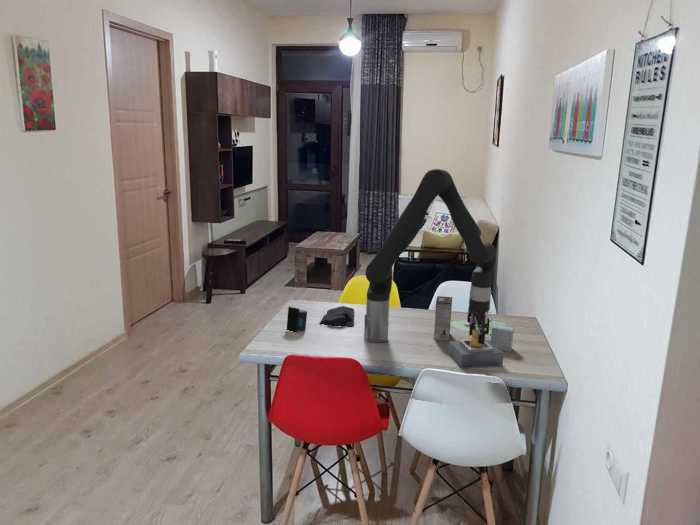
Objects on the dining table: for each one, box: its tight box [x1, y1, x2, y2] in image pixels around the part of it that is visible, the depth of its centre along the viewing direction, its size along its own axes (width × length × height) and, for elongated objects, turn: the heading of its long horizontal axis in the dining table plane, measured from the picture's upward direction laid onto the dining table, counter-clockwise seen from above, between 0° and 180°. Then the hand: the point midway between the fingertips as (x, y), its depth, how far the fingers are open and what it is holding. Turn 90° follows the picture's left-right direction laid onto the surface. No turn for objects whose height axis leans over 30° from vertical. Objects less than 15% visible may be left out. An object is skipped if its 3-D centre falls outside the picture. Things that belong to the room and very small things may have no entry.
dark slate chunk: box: [319, 305, 355, 328], centre depth 251 cm, size 15×22×5 cm
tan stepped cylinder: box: [469, 329, 483, 348], centre depth 208 cm, size 5×5×6 cm
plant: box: [450, 310, 508, 334], centre depth 246 cm, size 25×21×9 cm
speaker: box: [286, 306, 308, 333], centre depth 234 cm, size 8×6×10 cm
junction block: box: [448, 339, 505, 369], centre depth 209 cm, size 16×13×6 cm
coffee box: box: [433, 295, 453, 341], centre depth 232 cm, size 9×6×16 cm
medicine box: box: [490, 325, 515, 352], centre depth 221 cm, size 8×4×9 cm, turn 65°
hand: (476, 339), depth 208 cm, fingers open, 8 cm apart
